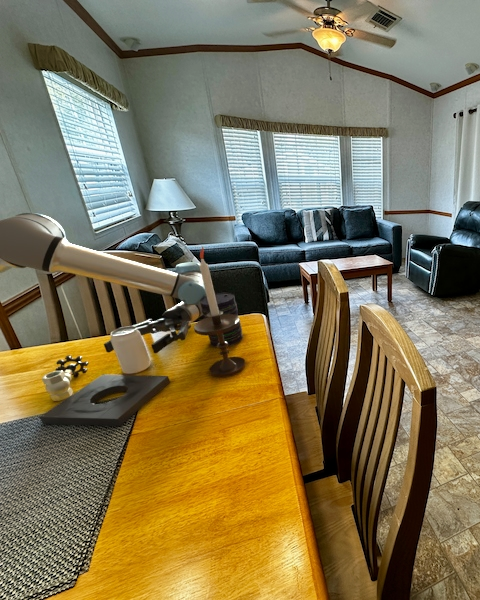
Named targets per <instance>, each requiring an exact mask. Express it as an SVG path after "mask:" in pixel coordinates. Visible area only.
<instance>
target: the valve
mask: <svg viewBox="0 0 480 600" xmlns="http://www.w3.org/2000/svg"><path fill="white" fill-rule="evenodd" d="M82 360H83V356H81V355H78V356H77V357H76V358H73V356H72V355H71V354H68V355H66V356H65V357H64V360H63V359H58V360H57V361H56V365H57V367H55V369H54V371H51V372H48V373H46V374H44V375H43V376H42V378H41V380H42V382H43V384H44V385H45V386H44V387H45V391H46V392H47V393H48V394H50V396H49V397H50V399H51V400H52V401H53V402H60V401H61V402H62V401H64V400H65V399H67V398H68V397H70V396H71V395H73V394H74V391H73V388H72V386H71V381H72V380H73V379H72V378H75V379H76V378H79V376H80V373H82V374H86V373H87V372H88V368H86V367H88V366H89V364H90V363H89V361H82ZM70 362H73V363H70ZM67 363H70V364H68V365H66V364H67ZM59 365H60V366H59ZM65 365H66V366H65ZM78 366H80V367H79V369H78V370H77V368H78Z"/></svg>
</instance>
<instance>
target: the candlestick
mask: <svg viewBox="0 0 480 600" xmlns="http://www.w3.org/2000/svg"><path fill="white" fill-rule="evenodd" d="M204 250H205V249H204V246H201V249H200V253H199V258H200V265H199V266H200V270H201V274H202V279H203V283H204V287H205V291H206V295H207V299H208V303H209V307H210V311H211V312H210V313H208V314H207V316H208V317H207V318H205V319H204V318H202V319H201V320H199V321H197V322H196V323H195V324H194V326H193V329H194V332H195V334H196V335H199V336H208V335H218V339H219V343H218V344H217V347H216V348H218V350H220V352H219V356H222V358H221V359H219V360H217V361H215V362H214V363H212V365H210V367H209V373H210V376H212V377H214V378H227V377H231V376H234V375H237V374H238V373H240V372H241V371H242V370H244V369H245V367H246V360H245V359H244V358H243V357H241V356H229V354H230V350H229V349H228V347H229V346H228V342H225V341H224V336H223V333H225V332H228V331H230V330H233V329H234V328H236V327H237V326H238V325H239V324H240V323H241V320H240V319H241V318H240V317H239V315H238V314H237V315H238V316H237V315H233V314H223V313H224V312H223V311H219V310H218V306H217V302H216V297H215V293H216V292H215V290H214V285H213V281H212V280H213V279H212V277H211V272H210V268H209V264H208V263H206V261H205V259H204Z"/></svg>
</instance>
